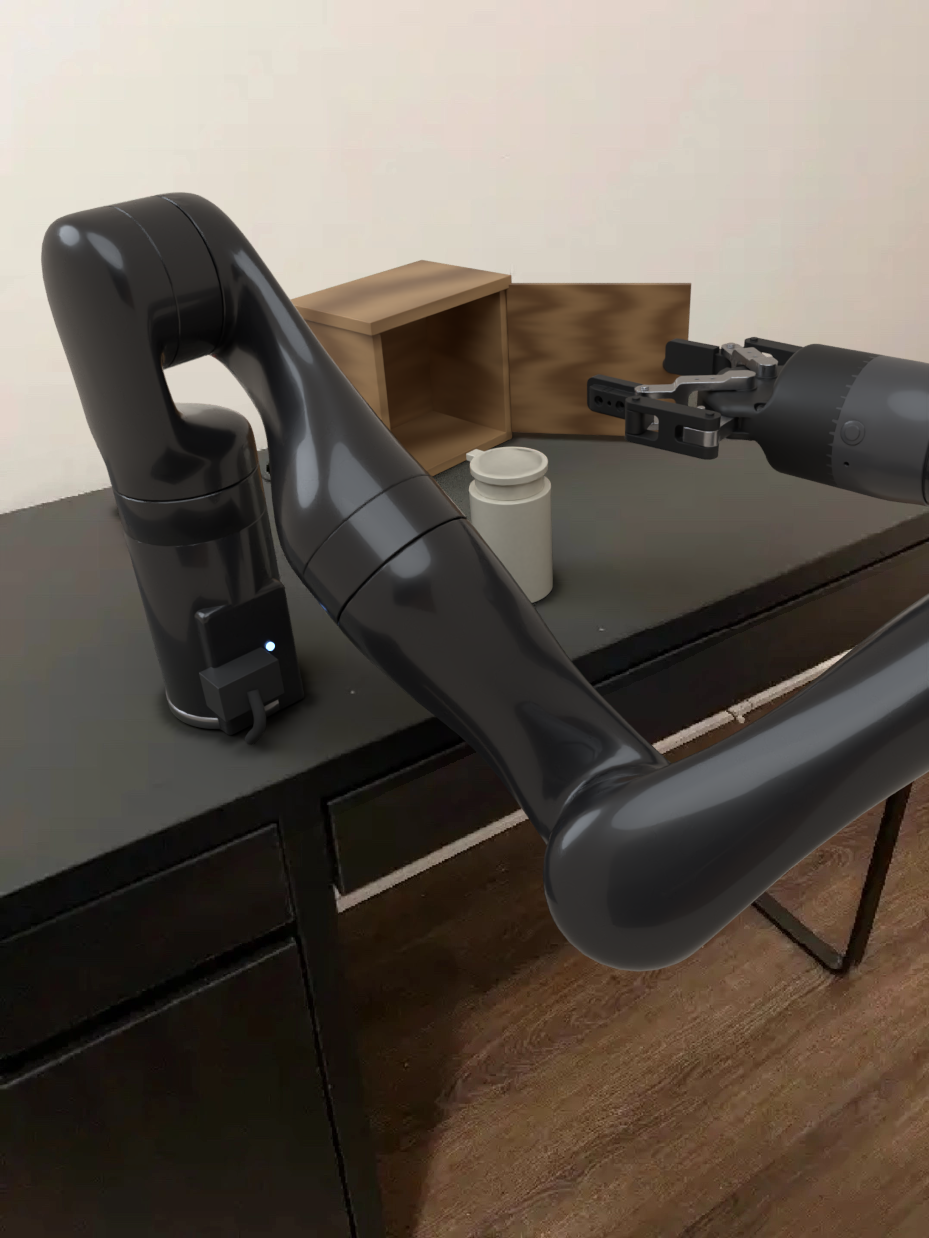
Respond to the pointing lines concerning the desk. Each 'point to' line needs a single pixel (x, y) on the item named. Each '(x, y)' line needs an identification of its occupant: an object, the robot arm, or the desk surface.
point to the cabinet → (491, 351)
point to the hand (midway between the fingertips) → (630, 372)
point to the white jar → (515, 513)
